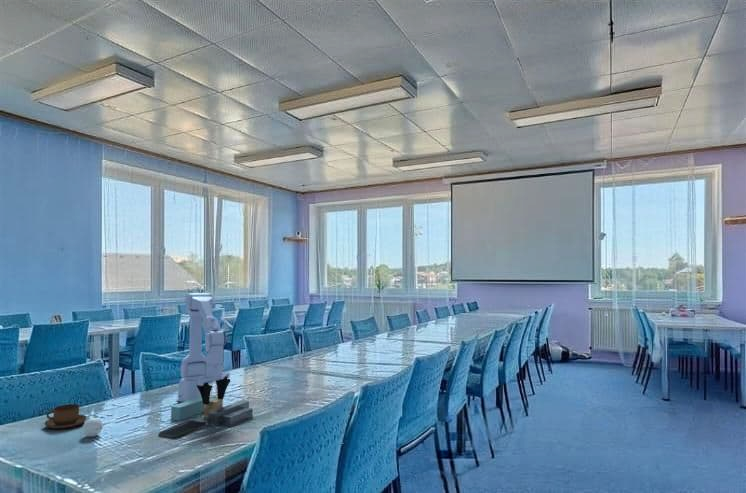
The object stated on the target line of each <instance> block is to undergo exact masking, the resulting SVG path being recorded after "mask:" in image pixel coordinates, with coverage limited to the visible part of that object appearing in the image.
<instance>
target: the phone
mask: <svg viewBox="0 0 746 493" xmlns="http://www.w3.org/2000/svg"><path fill="white" fill-rule="evenodd" d="M206 425H207V426H208V422H205V421H198V420H187V421H184V422H181V423H180V424H176V425H175V426H172V427H170V428H167V429H164V430H163V431H160V432H158V437H159V438H160V437H162V438H167V439H173V440H175V439H176V440H177V439H180V438H182V437H185V436H186V435H189V434H191V433H193V431H194V432H196V431H198V430H200V428H201V429H203V428H205V427H207V426H206ZM204 426H205V427H204ZM202 427H203V428H202ZM195 430H196V431H195Z"/></svg>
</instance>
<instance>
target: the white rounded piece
mask: <svg viewBox="0 0 746 493" xmlns="http://www.w3.org/2000/svg"><path fill="white" fill-rule="evenodd" d="M83 423H84V424H83V425H82V428H81V429H82V433H83V435H84V436H86V437H89V438H93V437H96V436H98V435H99V434H100V433H101V432H102V430H103V424H105V422H102V420H100V418H97V417H92V418H89V419H86V420H85V421H84V422H83Z"/></svg>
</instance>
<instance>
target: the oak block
mask: <svg viewBox="0 0 746 493" xmlns="http://www.w3.org/2000/svg"><path fill="white" fill-rule="evenodd" d="M223 402H224V398H223V399H218V397H216V398H211V399H209V404H208V405H206V404H204V412H203V418H206V419H208V413H209V412H211V411H214V410H217V409H220V408H222V407H224V406H223V404H224V403H223Z"/></svg>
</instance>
